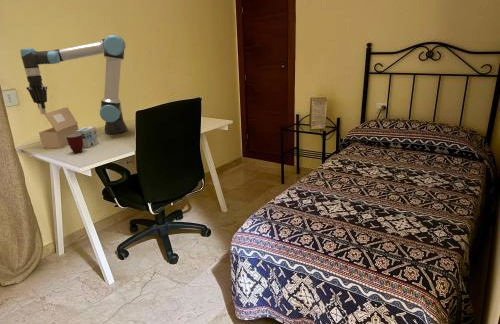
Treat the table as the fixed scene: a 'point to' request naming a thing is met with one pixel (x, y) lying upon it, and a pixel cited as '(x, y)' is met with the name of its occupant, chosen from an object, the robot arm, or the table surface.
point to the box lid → (61, 119)
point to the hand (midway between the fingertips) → (43, 113)
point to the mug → (75, 142)
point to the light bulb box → (88, 136)
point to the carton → (56, 137)
